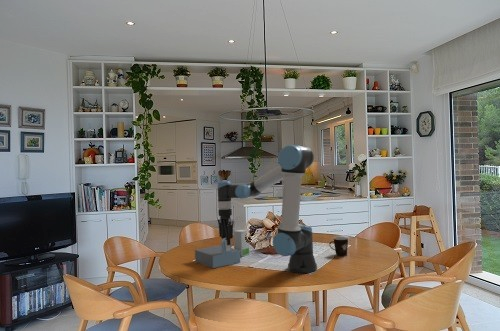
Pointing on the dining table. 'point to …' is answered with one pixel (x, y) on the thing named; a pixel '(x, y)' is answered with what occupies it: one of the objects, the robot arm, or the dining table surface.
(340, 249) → the coffee mug
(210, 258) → the slate blue box
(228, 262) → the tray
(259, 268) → the dining table surface
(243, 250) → the skincare box
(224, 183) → the robot arm
